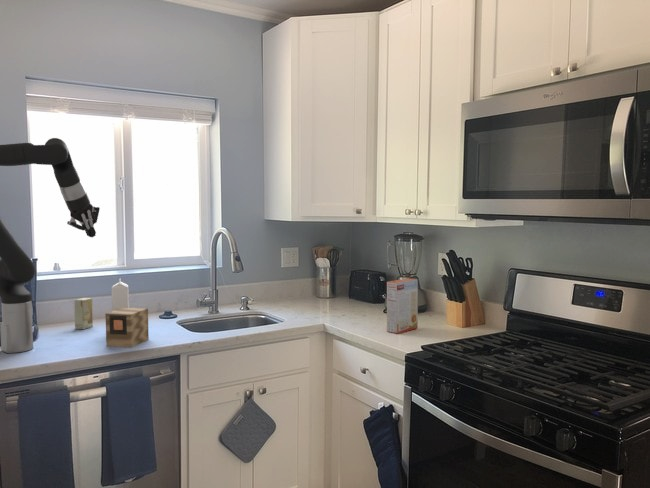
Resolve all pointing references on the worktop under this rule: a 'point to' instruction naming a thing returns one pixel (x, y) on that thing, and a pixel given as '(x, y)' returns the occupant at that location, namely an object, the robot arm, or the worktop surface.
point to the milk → (120, 296)
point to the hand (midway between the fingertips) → (92, 236)
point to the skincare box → (83, 313)
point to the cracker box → (402, 305)
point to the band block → (127, 327)
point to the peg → (118, 324)
